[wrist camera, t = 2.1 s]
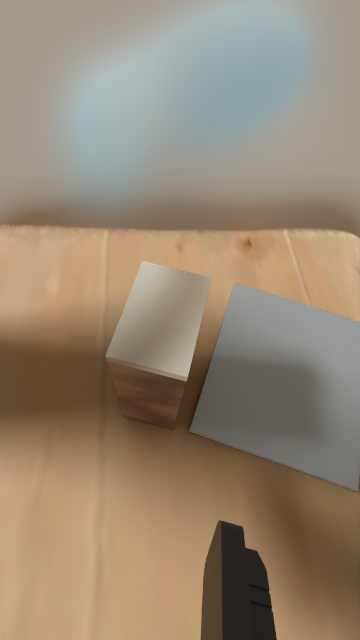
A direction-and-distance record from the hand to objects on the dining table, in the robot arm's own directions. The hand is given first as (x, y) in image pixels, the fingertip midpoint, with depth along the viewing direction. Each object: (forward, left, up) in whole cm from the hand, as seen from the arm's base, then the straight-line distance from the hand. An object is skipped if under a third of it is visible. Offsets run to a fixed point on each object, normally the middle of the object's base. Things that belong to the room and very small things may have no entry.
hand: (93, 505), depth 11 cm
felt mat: (+9, +14, -14) cm, 22 cm away
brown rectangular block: (-1, +9, -14) cm, 17 cm away
